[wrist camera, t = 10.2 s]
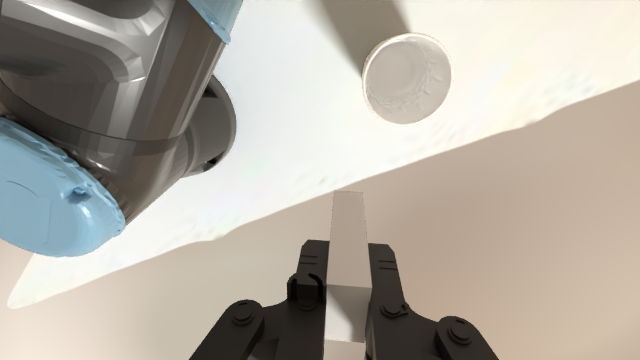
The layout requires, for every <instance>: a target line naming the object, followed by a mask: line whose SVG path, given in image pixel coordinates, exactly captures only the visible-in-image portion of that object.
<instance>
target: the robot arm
mask: <svg viewBox="0 0 640 360" xmlns="http://www.w3.org/2000/svg"><path fill="white" fill-rule="evenodd" d="M242 3H243V0H0V238H1V239H3V240H5V241H7V242H9V243H11V244H13V245H15V246H17V247H19V248H22V249H25V250H27V251H30V252H33V253H37V254H41V255H45V256H52V257H64V256H66V257H75V256H81V255H85V254H88V253H90V252H92V251H94V250H96V249H97V248H99V247H100V246H101V245H103V244H104V243H105V242H107V241H108V240H110V239H111V238H112V237H115V236H118V235H120V234H121V232H122V231H123V230H124V229H125V226H127V225H128V224H129V223H130V222H131V221H132V220H133V219H134V218H136V217H137V216H138V215H139V214H140V213H141V212H142V211H144V210H145V209H146V208H147V207H148V206H149V205H150V204H152V203H153V202H154V201H155V200H156V199H157V198H158V197H160V196H161V195H162V194H163V193H164V192H165V191H166V190H167V189H169V188H170V187H171V186H172V185H173V184H174V183H175V182H177V181H178V180H179V179H180V178H184V177H188V176H192V175H197V174H200V173H203V172H206V171H208V170H210V169H211V168H213V167H214V166H216V165H217V164H218V163H219V162H220V161H221V160H222V159H223V158H224V157H225V156H226V155H227V154H228V152H229V151H230V149H231V147H232V145H233V142H234V139H235V135H236V116H235V112H234V108H233V105H232V103H231V100H230V98H229V96H228V94H227V93H226V91H225V90H224V88H223V87H222V85H221V84H220V83H219V82H218V81H217V79H216V78H215V77H214V76H212V73H213V71H214V69H215V67H216V64H217V62H218V60H219V58H220V56H221V54H222V52H223V49H224V47H225V45H226V44H227V45H229V43H230V39H231V38H230V32H231V30H232V27H233V25H234V22H235V20H236V17H237V15H238V12H239V10H240V7H241V5H242ZM324 339H328V340H339V341H349V342H361V343H364V342H365V340H366V352H365V359H364V360H499V359H498V358H497V356H496V355H495V353H494V352H493V351H492V349H491V348H490V346H489V345H488V343H487V342H486V341H485V339H484V338H483V337H482V335H481V334H480V332H479V331H478V330H477V329H476V328H475V327H474V325H472V324H471V323H469V322H468V321H466V320H465V319H462V318H459V317H456V316H447V317H444V318H441V320H440V321H439V322H435V321H433V320H430V319H427V318H424V317H422V316H420V315H418V314H417V313H415V312H414V311H413V310H412V309H411V308H410V307H409V305H408V304H407V303H406V302H405V299H404V296H403V291H402V286H401V282H400V277H399V272H398V268H397V263H396V259H395V254H394V252H393V250H392V249H391V248H390V247H389V245H387V244H373V243H368V241H367V231H366V221H365V211H364V200H363V192H351V191H335V190H334V197H333V209H332V221H331V233H330V241H321V240H307V241H306V242H305V244H304V245H303V246H302V248H301V253H300V258H299V263H298V267H297V272H296V273H295V274H293V276H291V277H290V278H289V280H288V282H287V299H286V300H285V301H283V302H281V303H279V304H276V305H273V306H268V307H263V308H262V306H261V305H260V304H259V303H257V302H256V301H254V300H247V299H246V300H241V301H237V302H236V303H233V304H232V305H230V306H229V307H228V308H227V309H226V310H225V312H224V313H223V314H222V316H221V317H220V318H219V320H218V321H217V322H216V324H215V325H214V327H213V328H212V329H211V330H210V332H209V333H208V335H207V336H206V337H205V339H204V340H203V341H202V343H201V344H200V345H199V347H198V348H197V349H196V351H195V352H194V353H193V355H192V356H191V357H190V359H189V360H323V356H324Z"/></svg>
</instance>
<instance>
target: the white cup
mask: <svg viewBox="0 0 640 360" xmlns="http://www.w3.org/2000/svg"><path fill="white" fill-rule="evenodd" d="M453 78H454V70H453V64H452V60H451V58H450V55H449V53H448V52H447V50H446V49H445V47H444V46H443V45H442V44H441V43H440V42H439V41H437V40H436V39H434V38H433V37H431V36H428V35H425V34H421V33H405V34H401V35H397V36H393V37H390V38H388V39H386V40H384V41H382V42H380V43H379V44H378V45H376V46H375V47H374V48H373V49H372V50H371V52H370V53H369V55H368V56H367V58H366V61H365V63H364V67H363V73H362V89H363V95H364V98H365V101H366V103H367V105H368V107H369V109H370V110H371V111H372V112H373V113H374V114H375V115H376V116H377V117H378V118H379V119H381V120H383V121H384V122H387V123H389V124H393V125H399V126H407V125H413V124H417V123H420V122H422V121H424V120H426V119H428V118H429V117H431V116H432V115H434V114H435V113H436V112H437V111H438V110H439V109H440V108H441V107H442V105H443V104H444V103H445V101H446V100H447V98H448V96H449V94H450V91H451V88H452V84H453Z"/></svg>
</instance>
